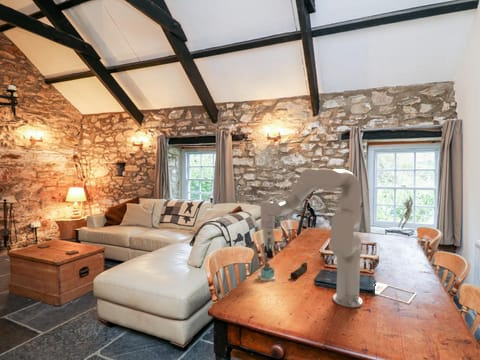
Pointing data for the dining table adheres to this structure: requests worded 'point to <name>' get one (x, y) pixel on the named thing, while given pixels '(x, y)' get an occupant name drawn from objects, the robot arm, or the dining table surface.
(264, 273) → the collar
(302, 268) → the dark brown bar
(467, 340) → the dining table surface
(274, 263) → the dining table surface
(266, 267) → the grey peg on base
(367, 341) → the dining table surface
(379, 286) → the photo frame
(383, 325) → the dining table surface
